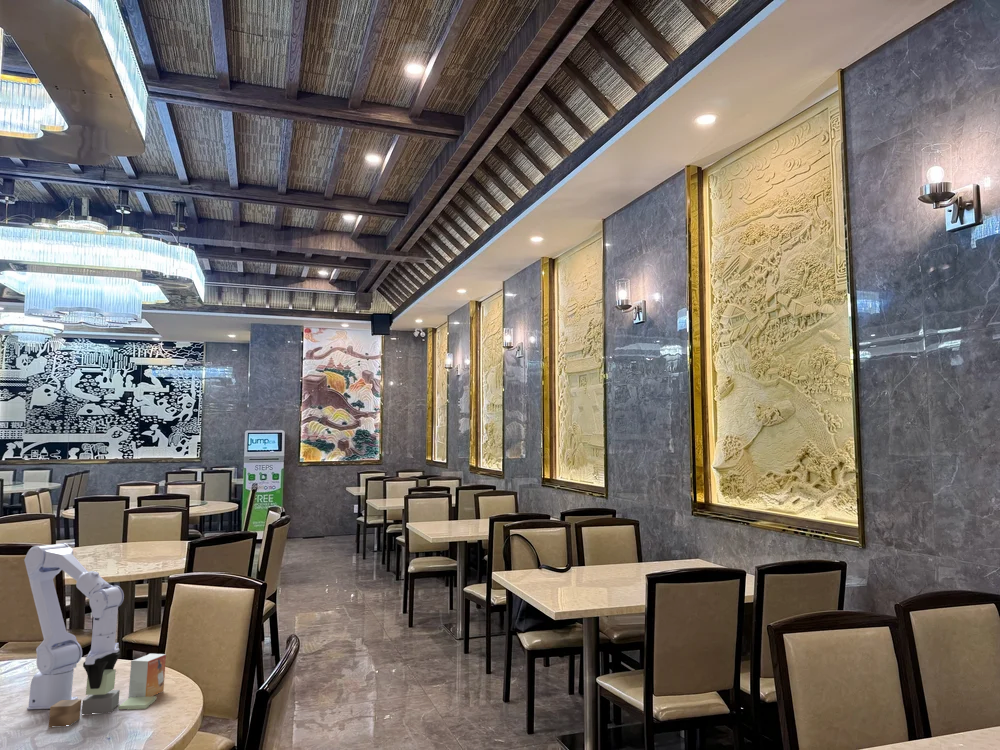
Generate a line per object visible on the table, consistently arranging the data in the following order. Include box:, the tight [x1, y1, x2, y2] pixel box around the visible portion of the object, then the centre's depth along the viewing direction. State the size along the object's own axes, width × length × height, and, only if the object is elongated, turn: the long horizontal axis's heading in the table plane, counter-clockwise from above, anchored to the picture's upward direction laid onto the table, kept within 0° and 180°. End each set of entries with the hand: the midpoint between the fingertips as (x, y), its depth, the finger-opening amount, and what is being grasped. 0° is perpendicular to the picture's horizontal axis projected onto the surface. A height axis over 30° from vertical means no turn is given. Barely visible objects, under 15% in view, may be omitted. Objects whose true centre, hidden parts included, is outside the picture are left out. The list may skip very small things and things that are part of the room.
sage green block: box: [85, 668, 117, 696], centre depth 180 cm, size 5×5×5 cm
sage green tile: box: [118, 695, 157, 710], centre depth 183 cm, size 7×7×1 cm
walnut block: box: [48, 698, 82, 728], centre depth 170 cm, size 5×5×5 cm
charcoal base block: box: [81, 689, 121, 715], centre depth 180 cm, size 7×7×4 cm
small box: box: [127, 653, 167, 699], centre depth 192 cm, size 8×6×10 cm
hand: (100, 685), depth 180 cm, fingers closed on sage green block, 5 cm apart
